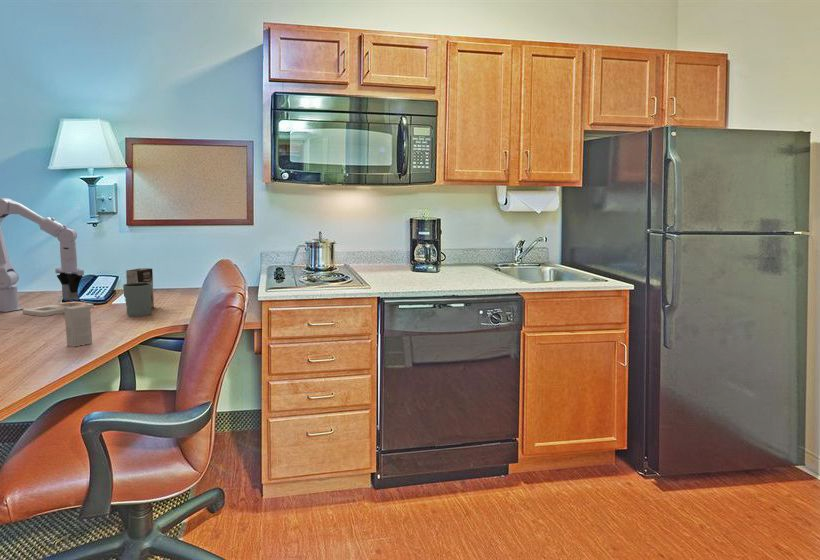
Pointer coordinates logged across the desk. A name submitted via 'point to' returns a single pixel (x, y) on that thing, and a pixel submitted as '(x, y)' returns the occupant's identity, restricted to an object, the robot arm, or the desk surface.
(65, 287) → the dark grey block
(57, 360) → the desk surface
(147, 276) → the coffee box
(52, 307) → the board with square holes
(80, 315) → the skincare box
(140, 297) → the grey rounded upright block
